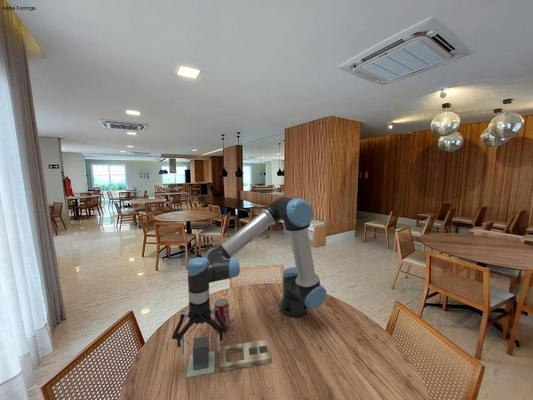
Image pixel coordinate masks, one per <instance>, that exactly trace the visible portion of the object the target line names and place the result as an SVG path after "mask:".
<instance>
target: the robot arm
mask: <svg viewBox="0 0 533 400" xmlns="http://www.w3.org/2000/svg"><path fill="white" fill-rule="evenodd" d="M313 217H314V209H313V208H312V205H311V204H310V203H309V202H308V201H307V200H305V199H302V198H299V197H296V198H295V197H289V196H281V197H279V198H276V199H275V200H273V201H271V202H270V203H268V204H267V205H266V206H264V207H263V208H262V209H261V212H260V213H259V214H258V215H257V216H255V217H254V218H253V219H252V220H250V221H249V222H248V223H247V224H245V225H244V226H243V227H242V228H240V229H239V230H237V231H236V232H235V233H234V234H233V235H231V236H230V237H229V238H228V239H226V240H225V241H224V242H223V243H221V244H220V245H219V246H218V247H212V248H210V249H208V251H207V252H206V255H205V257H202V256H201V257H194V258H192V259H190V260H189V261H188V263H187V285H188V286H187V287H188V288H187V289H188V293H187V294H188V310H189V311H188V312H186V311H184V310H183V311H181V312H180V315H179V320H178V322H177V325H176V326H175V329H174V331H173V333H172V335H171V339H172V340H176V341H177V347H178V348H180V357H184V353H185V334H186V333H187V332H188V330H190V328H191V327H192V326H193V325H194V324H195V325H199V324H205V323H206V324H208V325H209V326H210V327H211V328H213V330H215V331H216V332H217V351H219V352H220V347H221V341H223V340H224V339H223V336H224V335H223V334H224V333H227V331H228V329H227V325H226V324H225V322H224V320H223V319H222V317H221V315H220V314H219V311H218V307H216V308H215V309H214V308H211V305H210V304H211V303H210V301H211V299H210V284H211V283H215V282H219V281H224V280H231V279H233V278H236V277H238V276H239V275H240V272H241V270H240V269H241V268H240V267H241V266H240V262H239V260H238V258H237V257H234V256H235V255H236V254H238V252H239V251H240V250H242V249H243V248H245V247H246V246H247V245H248V244H249V243H251V242H252V241H253V240H254V239H256V238H257V237H258V236H259V235H260V234H261V233H263V232H264V231H265V230H266V229H267V228H269V227H270V226H271V225H274V226H275V225H276V224H277V223H278V222H280V221H282V222H283V224H284V230H285V231H287V232H288V233H289V238H290V245H291V249H292V250H291V251H292V255H293V259H294V264H295V266H292V267H288V268H285V269H284V270H283V272H282V278H283V279H282V286H283V287H282V289H283V290H282V297H281V299H280V303H279V310H280V312H281V313H282V314H283V315H284V316H286V317H289V318H301V317H303V316H305V315H306V314H307V313H308V309H312V310H316V309H319V308H320V307H321V306H323V304H324V303H325V301H326V299H327V294H328V293H327V290H326V288H325V287H324V286H323V285H322V284H321V280H320V277H319V275H318V274H317V273H316V272H315V265H314V259H313V253H312V248H311V243H310V242H311V241H310V237H309V230H308V229H309V228H310V226H311V222H312V219H313ZM211 314H212V315H213V316H215V317H216V319H217V321H218V322H219V324H220V325H221V326H220V325H219V324H218V323H217V322H216V321H215V319H213V317H212V316H211ZM187 318H188V319H189V320H188V321H187V322H186V324H185V325H184V326H183V327H182V325H183V323H184V321H185V320H186V319H187ZM181 327H182V329H181ZM180 329H181V330H180Z"/></svg>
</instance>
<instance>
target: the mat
mask: <svg viewBox="0 0 533 400" xmlns="http://www.w3.org/2000/svg"><path fill="white" fill-rule="evenodd" d="M215 359H216V351H209V367H208V368H206V369H200V370H194V371H193V354H189V358H188V364H187V370H186V374H185V375H186V376H185V378H186V379H188V378H189V379H190V378H194V377H199V376H200V377H201V376H205V375H210V374H212V375H213V374H214V373H215V364H216V363H215Z"/></svg>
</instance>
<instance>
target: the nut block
mask: <svg viewBox="0 0 533 400" xmlns="http://www.w3.org/2000/svg"><path fill="white" fill-rule="evenodd" d="M209 337H210V336H209V335H205V336H200V337H194V338H193V345H192V355H193V371H194V370H200V369H206V368H208V367H209V352H210V342H209V341H210V340H209V339H210V338H209Z"/></svg>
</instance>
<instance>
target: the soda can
mask: <svg viewBox="0 0 533 400" xmlns="http://www.w3.org/2000/svg"><path fill="white" fill-rule="evenodd" d="M216 307H218V311H219V314H220V315H221V317H222V319H223V320H224V322H225V324H226V325H227V330H228V328H229V327H230V323H231V322H230V304H229V301H228V299H225V298H220V299H217V300H216V301H215V302H214V307H213V309H215V308H216ZM213 316H214V315H213ZM214 321H216V322H217V323H218V324H219V322H218V321H217V319H216V317H215V316H214ZM219 325H220V324H219ZM220 326H221V325H220Z"/></svg>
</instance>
